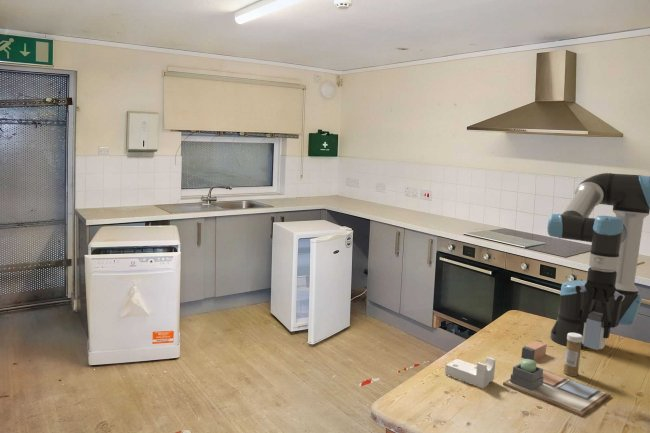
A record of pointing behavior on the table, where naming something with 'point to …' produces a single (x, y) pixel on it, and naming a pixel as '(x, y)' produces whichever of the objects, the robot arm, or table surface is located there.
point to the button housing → (527, 378)
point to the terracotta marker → (534, 350)
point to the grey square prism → (593, 330)
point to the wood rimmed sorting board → (564, 393)
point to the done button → (528, 365)
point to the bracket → (472, 371)
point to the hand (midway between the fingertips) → (593, 345)
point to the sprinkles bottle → (572, 354)
